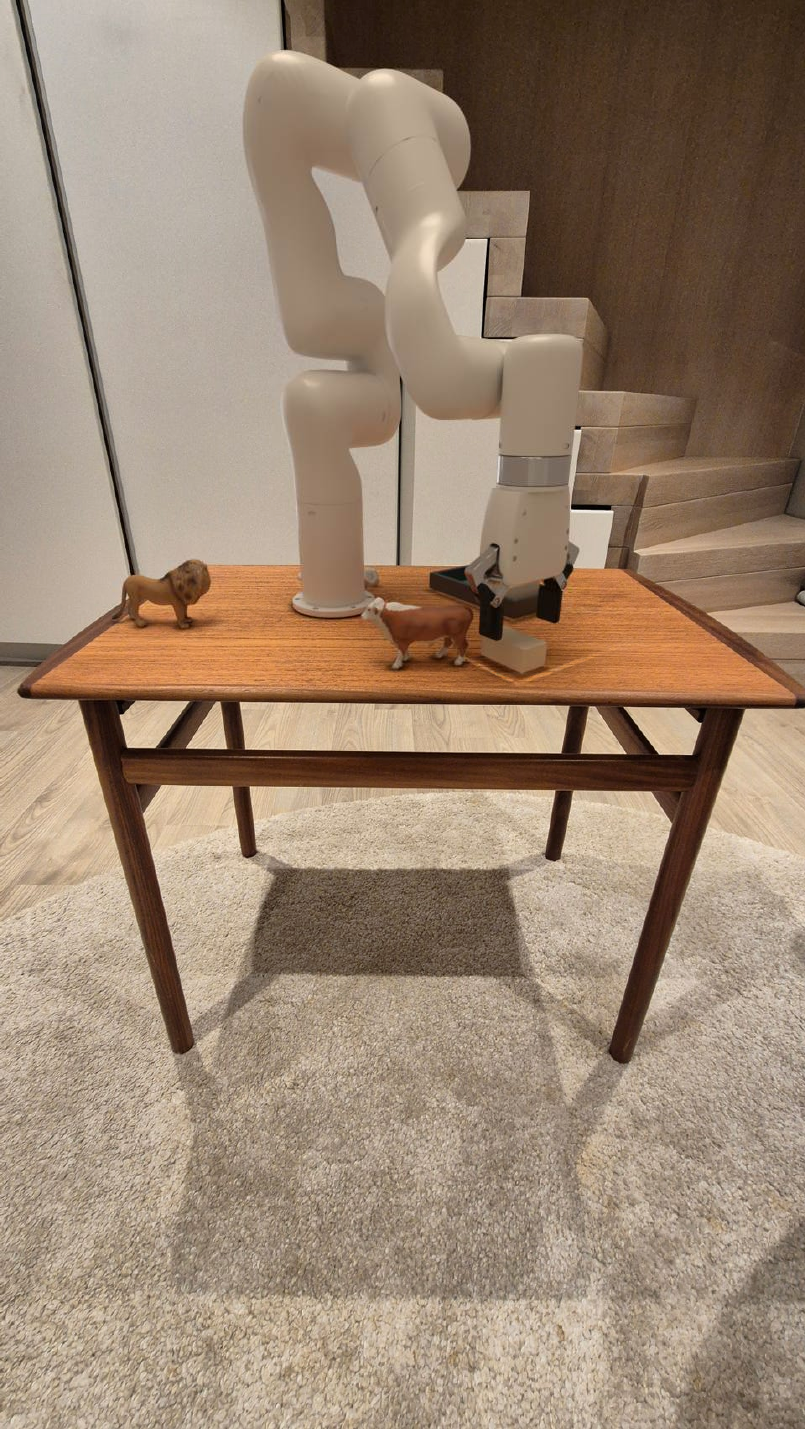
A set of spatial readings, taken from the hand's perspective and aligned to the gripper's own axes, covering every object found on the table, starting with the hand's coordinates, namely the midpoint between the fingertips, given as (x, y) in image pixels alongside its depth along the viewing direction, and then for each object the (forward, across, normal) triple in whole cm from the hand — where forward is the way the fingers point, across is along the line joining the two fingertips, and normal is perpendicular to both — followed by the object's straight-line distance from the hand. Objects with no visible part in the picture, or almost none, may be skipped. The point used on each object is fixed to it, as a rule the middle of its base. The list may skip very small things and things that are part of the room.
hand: (519, 628), depth 71 cm
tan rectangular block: (+5, 0, -1) cm, 5 cm away
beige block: (+4, -16, -16) cm, 23 cm away
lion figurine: (+4, +29, -40) cm, 50 cm away
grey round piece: (+4, -4, -38) cm, 38 cm away
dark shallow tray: (+4, -16, -21) cm, 26 cm away
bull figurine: (+5, +9, -8) cm, 13 cm away
